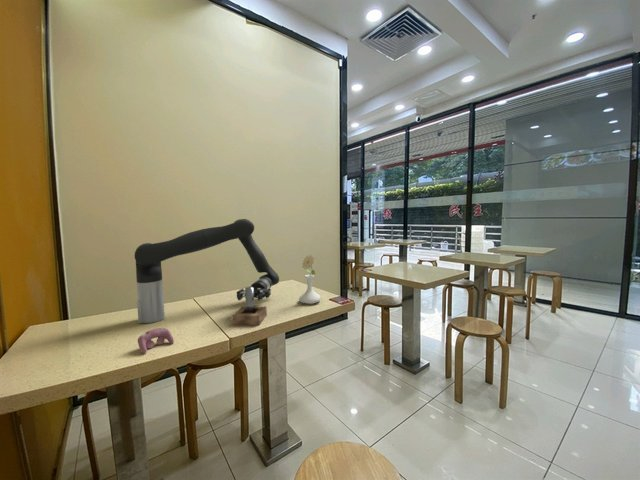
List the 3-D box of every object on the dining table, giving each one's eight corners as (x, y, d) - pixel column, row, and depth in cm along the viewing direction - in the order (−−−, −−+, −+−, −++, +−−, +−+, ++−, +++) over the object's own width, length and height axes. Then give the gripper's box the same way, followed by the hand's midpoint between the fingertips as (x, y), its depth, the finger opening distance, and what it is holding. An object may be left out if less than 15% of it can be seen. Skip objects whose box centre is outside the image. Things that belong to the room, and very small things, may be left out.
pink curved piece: (171, 344, 93) (166, 325, 95) (175, 342, 91) (170, 323, 92) (139, 356, 86) (134, 335, 87) (143, 354, 83) (138, 332, 84)
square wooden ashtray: (232, 324, 106) (232, 315, 106) (242, 315, 117) (242, 306, 117) (259, 325, 105) (259, 315, 105) (266, 315, 116) (266, 306, 116)
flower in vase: (296, 300, 138) (295, 253, 136) (317, 297, 141) (316, 252, 139) (302, 307, 125) (301, 256, 123) (325, 305, 129) (324, 255, 127)
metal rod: (247, 321, 109) (245, 289, 108) (245, 319, 112) (244, 287, 111) (255, 320, 111) (254, 288, 110) (253, 317, 114) (252, 286, 113)
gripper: (245, 280, 125) (231, 289, 109) (274, 280, 124) (265, 289, 108) (246, 295, 126) (232, 306, 110) (275, 295, 125) (265, 307, 109)
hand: (248, 298), depth 109 cm, fingers open, 8 cm apart
